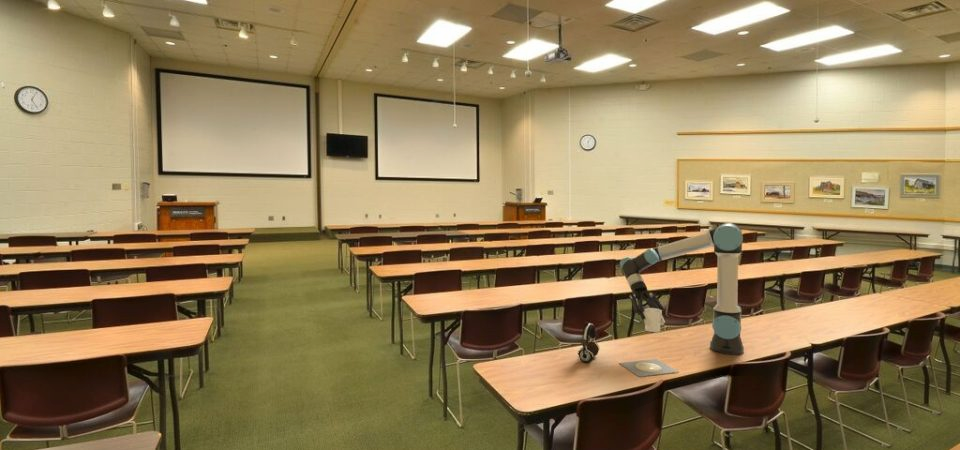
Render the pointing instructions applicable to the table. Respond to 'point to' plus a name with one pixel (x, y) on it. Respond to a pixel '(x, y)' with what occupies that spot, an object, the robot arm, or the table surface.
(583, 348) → the headset
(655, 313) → the white cup
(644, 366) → the card
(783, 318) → the table surface
